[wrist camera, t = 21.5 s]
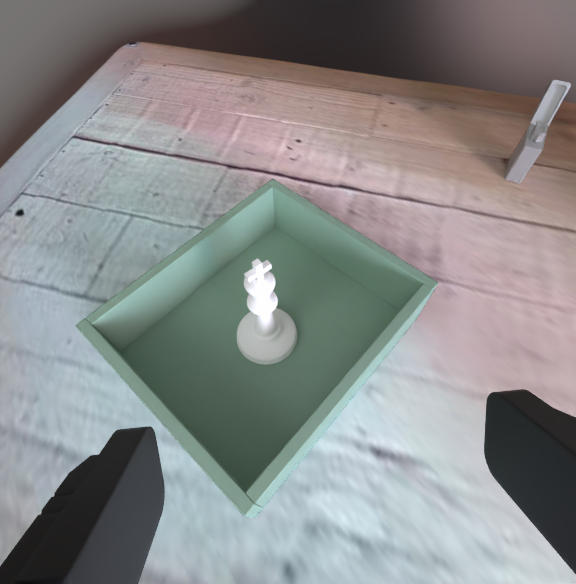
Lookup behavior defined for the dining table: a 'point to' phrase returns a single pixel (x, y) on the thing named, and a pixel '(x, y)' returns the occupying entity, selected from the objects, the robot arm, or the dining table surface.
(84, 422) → the dining table surface
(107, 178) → the dining table surface
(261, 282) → the chess piece
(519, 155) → the lighter
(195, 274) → the open box
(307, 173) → the dining table surface
